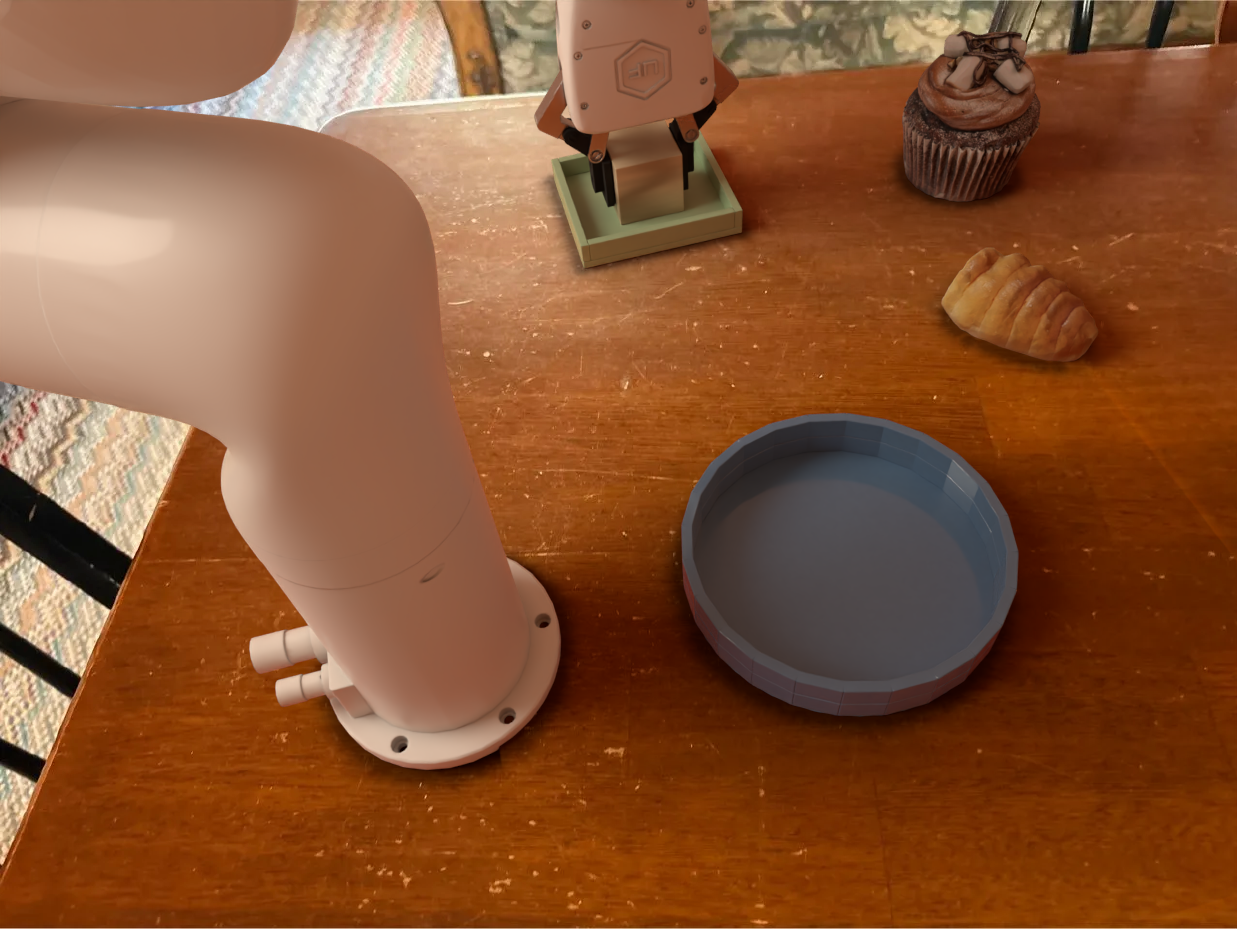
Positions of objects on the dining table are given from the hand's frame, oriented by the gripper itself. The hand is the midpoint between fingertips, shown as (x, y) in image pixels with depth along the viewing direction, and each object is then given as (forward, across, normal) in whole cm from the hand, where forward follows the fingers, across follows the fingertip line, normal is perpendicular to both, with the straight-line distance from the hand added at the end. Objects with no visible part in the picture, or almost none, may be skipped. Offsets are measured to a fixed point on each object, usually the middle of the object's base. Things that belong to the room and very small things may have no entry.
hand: (643, 185), depth 72 cm
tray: (+2, 0, 0) cm, 2 cm away
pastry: (+2, +20, -20) cm, 28 cm away
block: (+1, 0, 0) cm, 1 cm away
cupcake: (+2, +24, -4) cm, 24 cm away
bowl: (+2, +2, -35) cm, 35 cm away
